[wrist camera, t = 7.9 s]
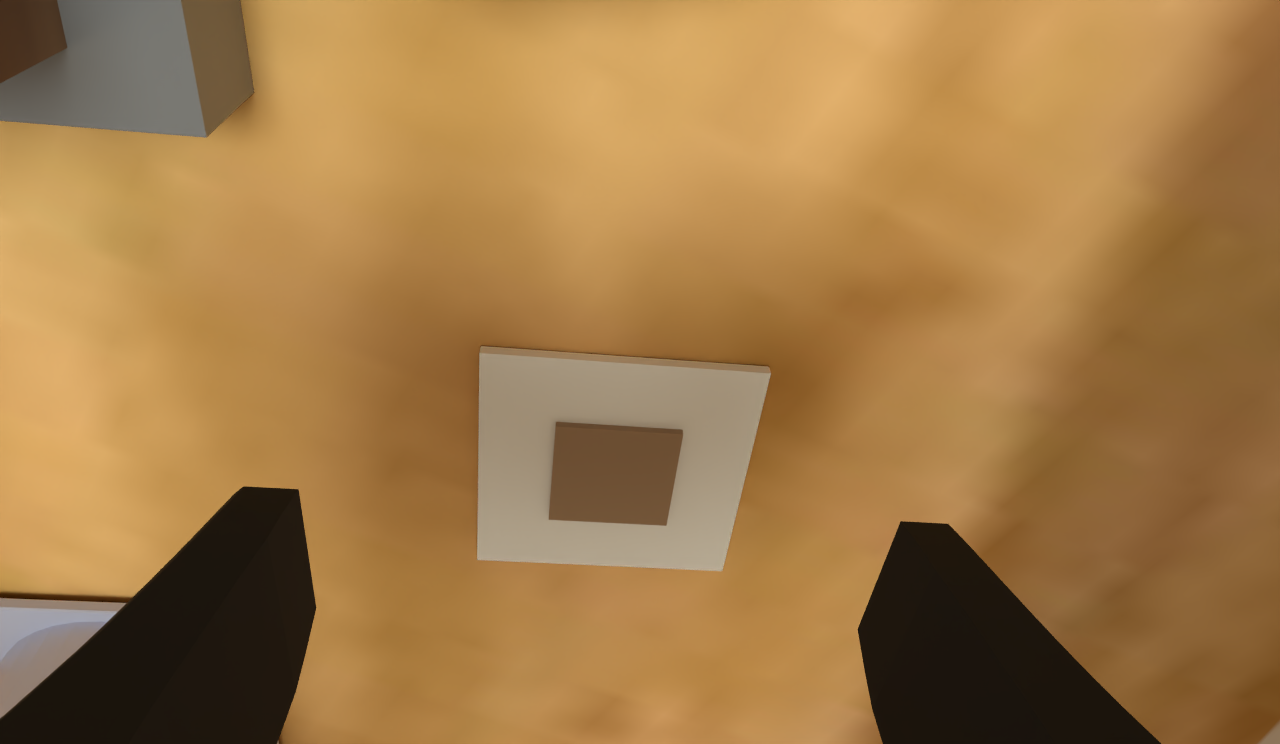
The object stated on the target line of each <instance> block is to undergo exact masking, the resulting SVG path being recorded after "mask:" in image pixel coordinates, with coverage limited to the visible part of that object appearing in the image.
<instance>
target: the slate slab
mask: <svg viewBox="0 0 1280 744" xmlns="http://www.w3.org/2000/svg"><path fill="white" fill-rule="evenodd" d="M57 2H58V7H59V11H60V16H61V20H62V25H63V30H64V34H65V39H66V43H67V48H66V49H64V50H62V51H60V52H59V53H57V54H55V55H53V56H51V57H49V58H47V59H45V60H43V61H42V62H40V63H38V64H36V65H34V66H32V67H30V68H28V69H26V70H24V71H23V72H21V73H19V74H17V75H15V76H13V77H11V78H9V79H7V80H6V81H4V82H2V83H0V121H11V122H23V123H35V124H48V125H60V126H72V127H84V128H97V129H109V130H121V131H133V132H146V133H158V134H170V135H182V136H195V137H208V136H209V135H210V134H211V133H212V132H213V131H214V130H215V129H216V128H217V127H218V126H219V125H220V124H221V123H222V122H223V121H224V120H225V119H227V118H228V117H229V116H230V115H231V114H232V113H233V112H234V111H235V110H236V109H237V108H238V107H239V106H240V105H241V104H242V103H243V102H244V101H246V100H247V99H248V98H249V97H250V96H251V95H252V94H253V93H254V88H253V81H252V75H251V68H250V61H249V55H248V48H247V41H246V35H245V28H244V21H243V15H242V8H241V1H240V0H57Z"/></svg>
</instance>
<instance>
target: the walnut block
mask: <svg viewBox="0 0 1280 744" xmlns="http://www.w3.org/2000/svg"><path fill="white" fill-rule="evenodd" d="M66 48H67V43H66V39H65V34H64V30H63V25H62V20H61V16H60V11H59V7H58V2H57V0H0V83H2V82H4V81H6V80H7V79H9V78H11V77H13V76H15V75H17V74H19V73H21V72H23V71H24V70H26V69H28V68H30V67H32V66H34V65H36V64H38V63H40V62H42V61H43V60H45V59H47V58H49V57H51V56H53V55H55V54H57V53H59V52H60V51H62V50H64V49H66Z"/></svg>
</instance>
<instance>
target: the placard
mask: <svg viewBox="0 0 1280 744" xmlns="http://www.w3.org/2000/svg"><path fill="white" fill-rule="evenodd" d="M770 376H771V372H770V368H769V366H755V365H741V364H727V363H713V362H699V361H685V360H671V359H657V358H643V357H629V356H614V355H600V354H586V353H572V352H558V351H544V350H530V349H516V348H502V347H488V346H481V348H480V353H479V442H478V535H477V560H489V561H511V562H533V563H555V564H577V565H598V566H620V567H642V568H664V569H686V570H707V571H722V570H723V566H724V562H725V558H726V554H727V550H728V546H729V542H730V538H731V534H732V530H733V526H734V522H735V518H736V514H737V510H738V506H739V501H740V497H741V493H742V489H743V485H744V481H745V477H746V473H747V469H748V465H749V461H750V457H751V453H752V449H753V445H754V441H755V436H756V432H757V428H758V424H759V420H760V416H761V412H762V408H763V404H764V400H765V396H766V392H767V388H768V384H769V380H770Z"/></svg>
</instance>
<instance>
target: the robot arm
mask: <svg viewBox="0 0 1280 744" xmlns="http://www.w3.org/2000/svg"><path fill="white" fill-rule="evenodd" d="M315 611H316V604H315V597H314V590H313V583H312V577H311V570H310V563H309V557H308V550H307V543H306V537H305V530H304V523H303V516H302V510H301V503H300V496H299V490H298V489H280V488H261V487H243V488H241V489H240V490H239V491H237V492H236V493H235V494H234V495H233V496H232V497H231V498H230V499H229V500H228V501H227V502H226V503H225V504H224V505H223V506H222V507H221V508H220V509H219V510H218V511H217V512H216V514H215V515H214V516H213V517H212V518H211V519H210V520H209V521H208V522H207V523H206V524H205V525H204V526H203V527H202V528H201V529H200V530H199V531H198V532H197V533H196V534H195V535H194V536H193V537H192V538H191V540H190V541H189V542H188V543H187V544H186V545H185V546H184V547H183V548H182V549H181V550H180V551H179V552H178V553H177V554H176V555H175V556H174V557H173V558H172V559H171V560H170V561H169V562H168V563H167V564H166V565H165V566H164V567H163V568H162V569H161V570H160V571H159V572H158V573H157V574H156V575H155V576H154V577H153V578H152V579H151V580H150V581H149V582H148V583H147V584H146V585H145V586H144V587H143V588H142V589H141V590H140V591H139V592H138V593H137V594H136V595H135V596H134V597H133V598H132V599H130V600H129V601H128V602H127V603H115V602H90V601H64V600H39V599H13V598H0V744H279V741H278V739H279V736H280V734H281V731H282V728H283V725H284V723H285V720H286V717H287V715H288V712H289V709H290V706H291V703H292V701H293V698H294V695H295V692H296V689H297V685H298V681H299V677H300V673H301V669H302V665H303V661H304V657H305V653H306V649H307V645H308V641H309V636H310V632H311V628H312V623H313V619H314V615H315ZM858 634H859V640H860V645H861V651H862V657H863V663H864V669H865V674H866V679H867V684H868V689H869V694H870V700H871V705H872V709H873V713H874V716H875V719H876V723H877V726H878V729H879V733H880V736H881V739H882V742H883V744H1161V743H1160V742H1159V741H1158V740H1157V739H1156V738H1155V737H1154V736H1153V735H1152V734H1151V733H1149V732H1148V731H1147V730H1146V729H1145V728H1144V727H1143V726H1142V725H1141V724H1140V723H1139V722H1138V721H1137V720H1136V719H1135V718H1134V717H1133V716H1132V715H1131V714H1129V713H1128V712H1127V711H1126V710H1125V709H1124V708H1123V707H1122V706H1121V705H1120V704H1119V703H1118V702H1117V701H1116V700H1115V699H1114V698H1113V697H1112V696H1111V695H1110V694H1109V693H1108V692H1107V691H1106V690H1105V689H1104V688H1103V687H1102V686H1101V685H1100V684H1099V683H1098V682H1097V681H1096V680H1095V679H1094V678H1093V677H1092V676H1091V675H1090V674H1089V673H1088V672H1087V671H1086V670H1085V669H1084V668H1083V667H1082V666H1081V665H1080V664H1079V663H1078V662H1077V661H1076V660H1075V659H1074V658H1073V657H1072V655H1071V654H1070V653H1069V652H1068V651H1067V650H1066V649H1065V648H1064V647H1063V646H1062V645H1061V644H1060V643H1059V642H1058V641H1057V640H1056V639H1055V638H1054V637H1053V636H1052V635H1051V634H1050V632H1049V631H1048V630H1047V629H1046V628H1045V627H1044V626H1043V625H1042V624H1041V623H1040V622H1039V621H1038V620H1037V619H1036V618H1035V617H1034V615H1033V614H1032V613H1031V612H1030V611H1029V610H1028V609H1027V608H1026V607H1025V606H1024V605H1023V604H1022V602H1021V601H1020V600H1019V599H1018V598H1017V597H1016V596H1015V595H1014V594H1013V593H1012V592H1011V591H1010V590H1009V588H1008V587H1007V586H1006V585H1005V584H1004V583H1003V582H1002V581H1001V580H1000V579H999V578H998V576H997V575H996V574H995V573H994V572H993V571H992V570H991V569H990V568H989V567H988V566H987V565H986V563H985V562H984V561H983V560H982V559H981V558H980V557H979V556H978V555H977V554H976V553H975V552H974V550H973V549H972V548H971V547H970V546H969V545H968V544H967V543H966V542H965V541H964V540H963V539H962V538H961V537H960V536H959V535H958V534H957V533H956V532H955V531H954V529H953V528H952V527H951V526H950V525H949V524H940V523H921V522H902V521H901V522H900V525H899V527H898V530H897V532H896V535H895V537H894V540H893V542H892V545H891V547H890V550H889V552H888V555H887V557H886V560H885V562H884V565H883V567H882V570H881V572H880V575H879V577H878V580H877V582H876V585H875V587H874V590H873V592H872V595H871V597H870V600H869V602H868V605H867V607H866V610H865V612H864V615H863V617H862V620H861V622H860V625H859V627H858Z"/></svg>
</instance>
